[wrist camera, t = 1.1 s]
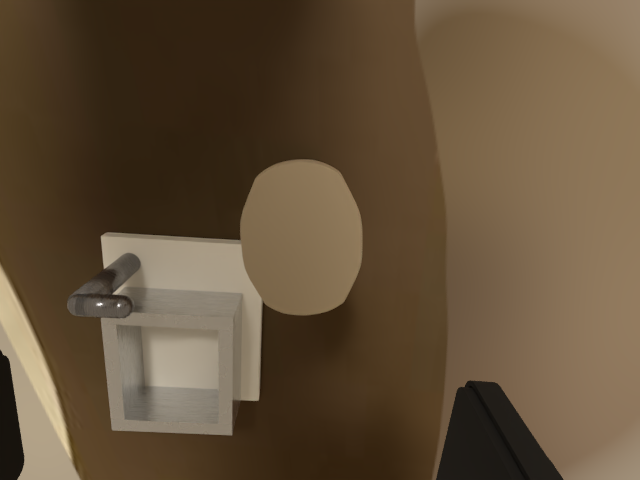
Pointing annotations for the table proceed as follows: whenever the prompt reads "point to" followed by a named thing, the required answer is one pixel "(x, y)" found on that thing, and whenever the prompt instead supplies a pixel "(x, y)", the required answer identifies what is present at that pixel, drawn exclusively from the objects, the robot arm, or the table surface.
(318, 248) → the handle
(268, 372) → the table surface
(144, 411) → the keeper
